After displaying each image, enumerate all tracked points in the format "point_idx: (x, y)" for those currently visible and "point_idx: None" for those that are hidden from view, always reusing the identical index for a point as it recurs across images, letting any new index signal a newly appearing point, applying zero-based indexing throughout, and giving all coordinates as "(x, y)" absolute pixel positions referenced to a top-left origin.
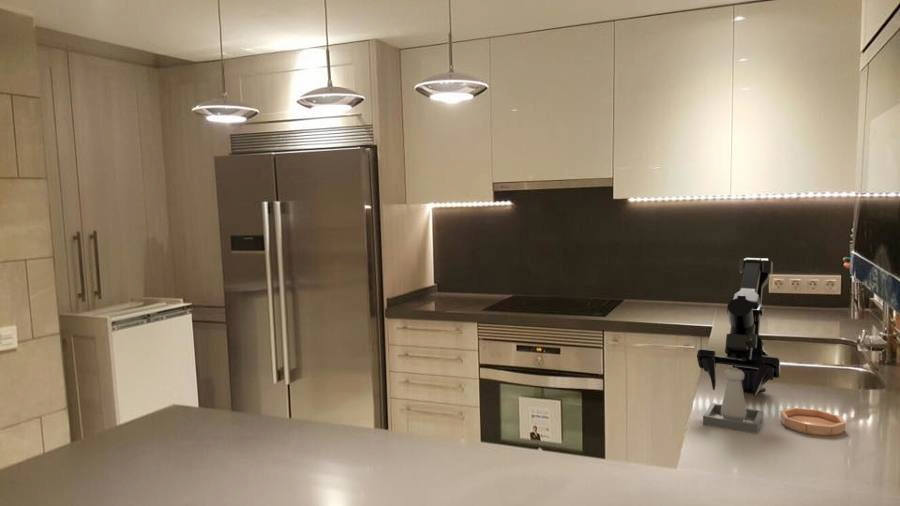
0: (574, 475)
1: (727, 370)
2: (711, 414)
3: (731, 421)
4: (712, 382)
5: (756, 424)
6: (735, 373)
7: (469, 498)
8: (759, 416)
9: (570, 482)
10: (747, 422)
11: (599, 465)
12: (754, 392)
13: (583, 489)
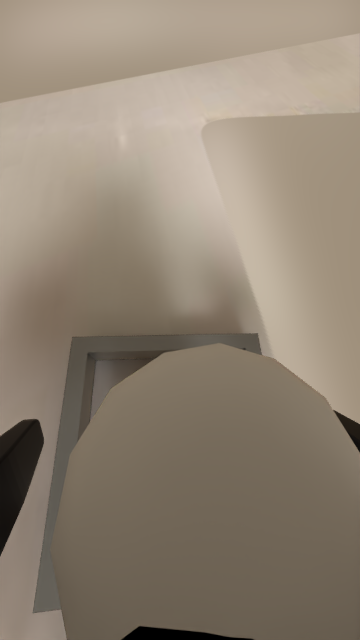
0: (297, 79)
1: (330, 412)
2: None
3: (163, 336)
4: (358, 428)
5: (76, 341)
6: (183, 353)
7: (333, 38)
8: (60, 463)
9: (289, 69)
10: (108, 347)
11: (293, 102)
12: (26, 423)
13: (269, 62)
